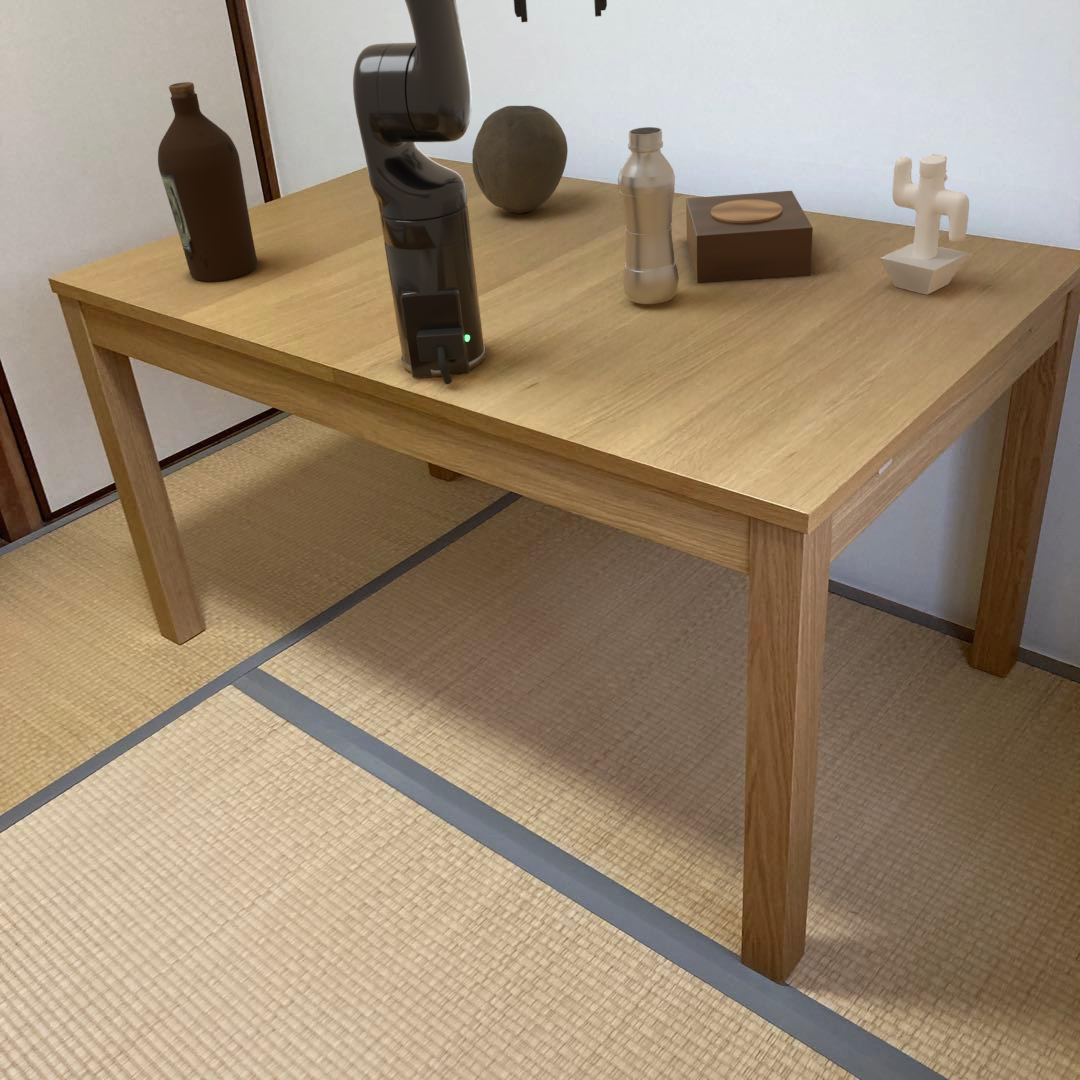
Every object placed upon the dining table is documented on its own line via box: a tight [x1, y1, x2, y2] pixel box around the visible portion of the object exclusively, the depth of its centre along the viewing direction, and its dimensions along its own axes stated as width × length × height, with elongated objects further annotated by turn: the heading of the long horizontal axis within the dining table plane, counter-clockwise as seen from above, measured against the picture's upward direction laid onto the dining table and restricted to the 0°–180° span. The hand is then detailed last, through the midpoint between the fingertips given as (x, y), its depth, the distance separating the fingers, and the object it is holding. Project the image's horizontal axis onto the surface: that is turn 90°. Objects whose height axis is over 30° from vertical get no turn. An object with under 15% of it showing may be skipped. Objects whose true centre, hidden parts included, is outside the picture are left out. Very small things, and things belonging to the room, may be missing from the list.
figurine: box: [879, 153, 970, 296], centre depth 133 cm, size 7×9×15 cm
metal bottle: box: [617, 126, 680, 305], centre depth 135 cm, size 6×7×20 cm
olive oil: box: [157, 81, 258, 282], centre depth 157 cm, size 11×11×25 cm
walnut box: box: [685, 190, 814, 284], centre depth 149 cm, size 16×14×6 cm
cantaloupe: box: [471, 105, 569, 214], centre depth 173 cm, size 14×14×15 cm
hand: (561, 18), depth 134 cm, fingers open, 8 cm apart
